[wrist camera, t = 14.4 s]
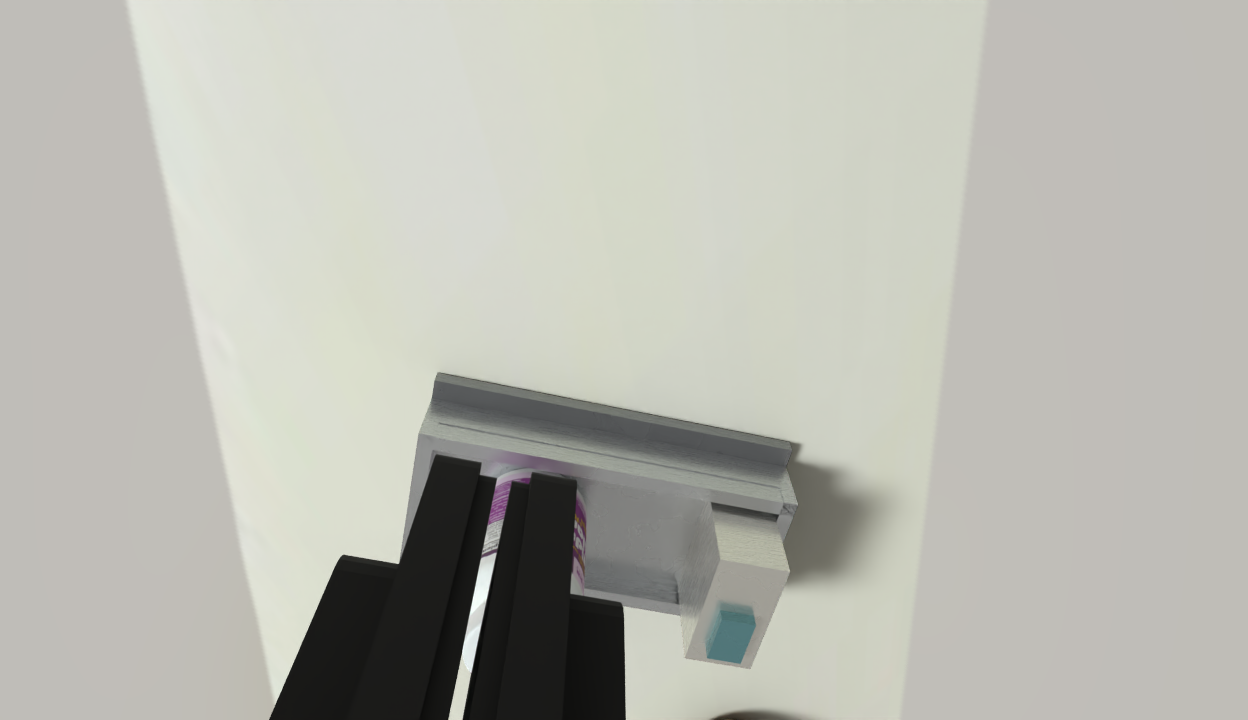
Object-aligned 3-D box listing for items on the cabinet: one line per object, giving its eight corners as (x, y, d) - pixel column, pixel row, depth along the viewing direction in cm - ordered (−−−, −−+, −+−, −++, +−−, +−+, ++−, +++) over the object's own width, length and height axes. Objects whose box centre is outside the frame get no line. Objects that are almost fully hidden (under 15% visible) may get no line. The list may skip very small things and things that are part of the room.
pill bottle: (610, 515, 42) (609, 665, 34) (529, 568, 44) (508, 725, 35) (538, 442, 41) (518, 583, 32) (456, 500, 42) (415, 649, 33)
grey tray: (437, 372, 42) (399, 470, 34) (789, 442, 44) (825, 548, 36) (413, 532, 46) (374, 650, 39) (733, 589, 48) (756, 711, 41)
